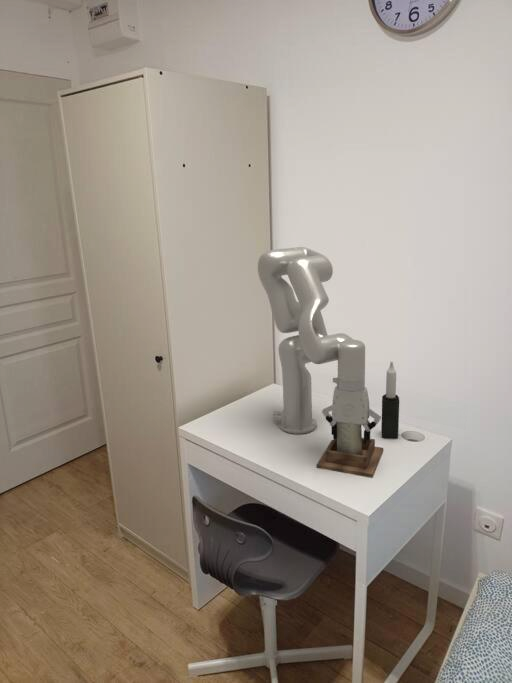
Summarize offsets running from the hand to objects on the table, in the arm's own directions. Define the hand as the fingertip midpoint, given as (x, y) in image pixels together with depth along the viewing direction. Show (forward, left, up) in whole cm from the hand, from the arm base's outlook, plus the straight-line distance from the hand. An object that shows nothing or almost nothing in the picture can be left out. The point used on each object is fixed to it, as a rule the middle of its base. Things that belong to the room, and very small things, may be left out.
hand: (350, 439), depth 146 cm
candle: (+8, +19, -6) cm, 22 cm away
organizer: (0, 0, -6) cm, 6 cm away
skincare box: (0, 0, -5) cm, 6 cm away
